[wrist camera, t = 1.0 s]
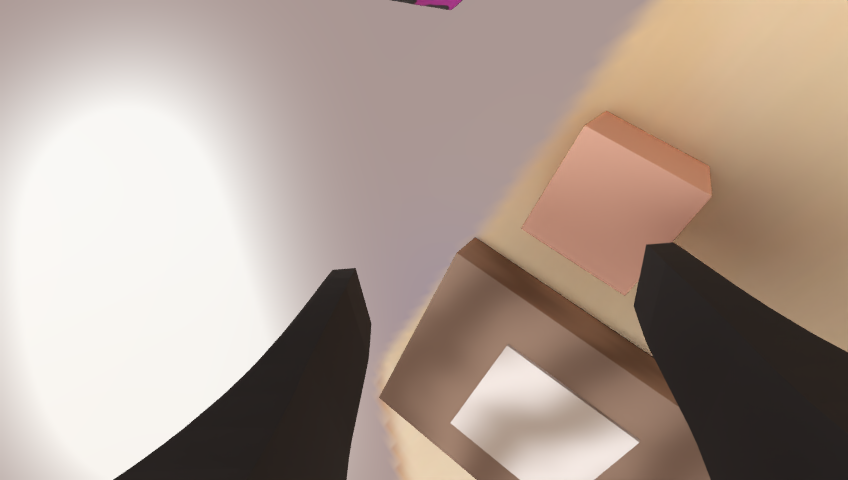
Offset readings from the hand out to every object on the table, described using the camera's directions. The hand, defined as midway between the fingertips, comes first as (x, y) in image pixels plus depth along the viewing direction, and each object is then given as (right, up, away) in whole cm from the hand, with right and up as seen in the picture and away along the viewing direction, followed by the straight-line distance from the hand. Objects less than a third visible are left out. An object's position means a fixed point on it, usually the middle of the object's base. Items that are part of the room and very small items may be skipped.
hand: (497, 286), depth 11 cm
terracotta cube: (+8, +4, +10) cm, 13 cm away
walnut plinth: (+6, -9, +17) cm, 20 cm away
